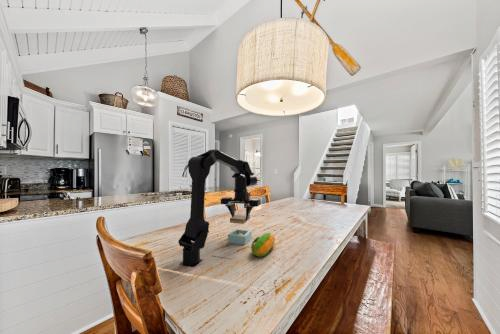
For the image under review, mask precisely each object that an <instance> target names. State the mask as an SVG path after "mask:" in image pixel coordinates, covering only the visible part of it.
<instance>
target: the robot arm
mask: <svg viewBox="0 0 500 334" xmlns="http://www.w3.org/2000/svg"><path fill="white" fill-rule="evenodd" d="M216 162H217V163H220V164H221V165H224V166H226V167H227V168H229V169H230V170H231V171H232V172H234V173H233V174H232V175H231V178H233V179H234V189H233V192H234V198H233V197H231V196H225V197H222V198H221V199H220V205H224V206H225V207H227V209H228V210H229V214H230V215H231V218H232V217H233V216H235V215H236V213H235V206H236V204H243V205H247V206H245V214H246V220H248V218H249V215H250V216H251V212H252V210H253V208H254V207H259V206H260V205H261V199H260V198H251V193H250V192H249V191H248V187H253V186H256V185H257V184H258V177H257V176H256V175H255V172H253V171H252V170H251V167H250V165H249V162H248V161H246V160H242V159H236V158H234V157H232V156H230V155H228V154H226V153H224V152H222V151H221V150H219V149H209V150H207V151H206V152H203V153H202V154H201V153H200V154H199V155H196V156H193V157H190V158H189V159H188V162H187V167H188V169H187V170H188V174H189V176H190V178H191V191H190V192H191V194H190V195H191V196H190V212H189V214H190V215H189V219H188V221H187V223H186V224H185V229H184V232H183V234H182V235H181V236H180V238H179V239H178V242H177V243H178V246H180V247H183V249H182V261H181V262H180V263H179V266H184V267H190V268H196V267H197V266H199V264H200V263H202V262H203V261H204V259H203V258H201V250H202V249H204V248H205V246H206V245H205V244H206V241H207V238H208V234H209V233H210V231H209V227H210V222H209V221H206V220H205V216H204V215H205V196H206V195H205V194H206V180H207V177H208V176H209V174H210V171H211V167H212V166H214V165H215V164H216ZM248 221H249V220H248Z"/></svg>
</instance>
